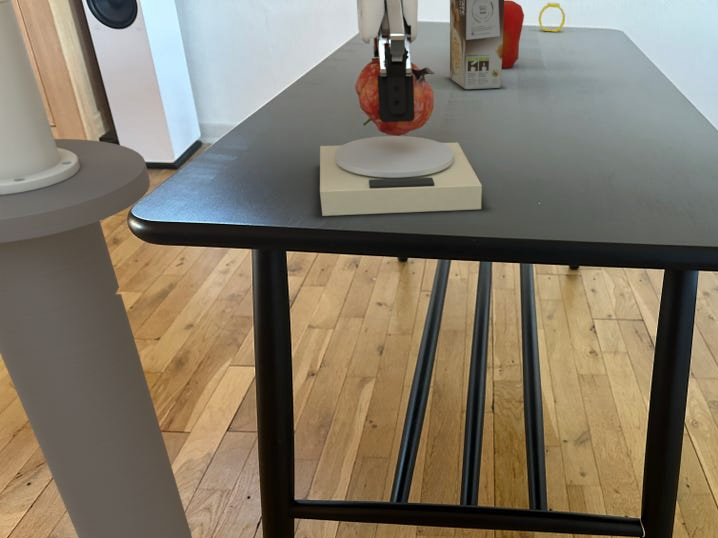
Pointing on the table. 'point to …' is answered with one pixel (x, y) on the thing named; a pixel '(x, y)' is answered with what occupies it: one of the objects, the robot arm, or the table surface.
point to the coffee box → (476, 43)
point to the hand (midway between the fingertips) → (393, 108)
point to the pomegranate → (370, 101)
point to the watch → (552, 6)
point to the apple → (511, 32)
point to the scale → (396, 177)
